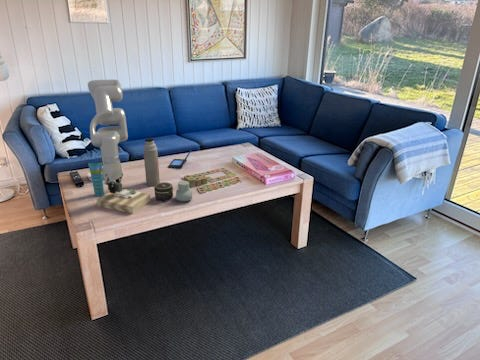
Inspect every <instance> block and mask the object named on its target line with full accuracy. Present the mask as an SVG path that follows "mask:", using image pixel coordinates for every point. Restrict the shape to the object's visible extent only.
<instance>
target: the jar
mask: <svg viewBox="0 0 480 360" xmlns="http://www.w3.org/2000/svg"><path fill="white" fill-rule="evenodd" d="M153 187H154V188H153V189H154V198H155V199H156V200H157V201H158V202H169V201H171V200H172V199H173V196H174V187H173V184H172V183H171V182H160V183H158V184H156V185H155V186H153Z"/></svg>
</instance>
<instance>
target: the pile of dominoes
mask: <svg viewBox="0 0 480 360" xmlns="http://www.w3.org/2000/svg"><path fill="white" fill-rule="evenodd" d="M221 172H222V173H224V175H222V176H217V177H214V178H213V177H211V176H208V175H212V174H215V173H221ZM237 175H238V174H236V173H234V172H232V171H231V170H229V169H227V168H225V167H219V168H215V169H211V170H207V171H203V172H202V171H201V172H198V173H194V174H187V175H184V176H182V177H181V180H182V181H188V182H189V188H190V189H193V188H195V187H197V192H198V194H206V193H207V192H212V191H213V190H219V189H223V188H225V187H231V185H236V184H238V182H240V183H243V182H242V179H241V177H240V176H237ZM208 182H209V184H208ZM202 185H203V186H202Z"/></svg>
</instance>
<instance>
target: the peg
mask: <svg viewBox="0 0 480 360" xmlns="http://www.w3.org/2000/svg"><path fill="white" fill-rule="evenodd" d="M110 183H111V182H110ZM114 186H115V193H114V196H117V195H122V196H127V197H132V196H131V195H126V194H121V193H118V192H121V191H122V189H123V184H122V182H121V183H118V182H116V181H114ZM107 190H108V191H110V190H109V186H108V185H107Z"/></svg>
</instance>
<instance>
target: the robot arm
mask: <svg viewBox="0 0 480 360" xmlns="http://www.w3.org/2000/svg"><path fill="white" fill-rule="evenodd" d="M87 89H88V92H89V93H90V95H91V97H92V99H93V101H94V105H95V113H96V114H95V115H94V117H93V118H92V119H91V122H90V124H89V136H90V141H91V144H92V146H94V147H99V148H100V153H101V160H102V176H103V185H107V187H108V186H109V190H108V191H109V192H110V193H115V186H114V182H118V183H122V178H123V176H124V173H123V167H122V163H121V159H120V157H119V147H118V145H119V143H122V142H126V141H127V140H128V137H129V135H128V128H127V127H128V125H127V118H126V112H125V111H124V109H123V108H121V107H113V102H121V101H122V100H123V97H124V95H123V90H122V89H123V88H122V85H121V82H120V80H118V79H94V80H90V81H88V83H87ZM98 125H100V126H105V127H99V128H98V129H97V131H96V127H97V126H98ZM114 125H116V126H114ZM117 125H118V126H117ZM110 182H111V183H110Z"/></svg>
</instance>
